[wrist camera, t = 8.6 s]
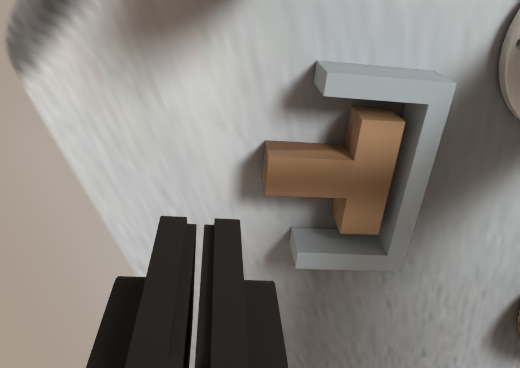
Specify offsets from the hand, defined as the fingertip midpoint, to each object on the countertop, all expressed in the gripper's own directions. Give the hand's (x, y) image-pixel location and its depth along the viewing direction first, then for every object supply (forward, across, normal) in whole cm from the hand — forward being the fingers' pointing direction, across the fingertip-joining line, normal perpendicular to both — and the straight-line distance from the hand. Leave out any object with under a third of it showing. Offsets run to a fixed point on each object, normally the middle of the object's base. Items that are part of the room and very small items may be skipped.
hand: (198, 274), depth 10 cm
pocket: (+23, -11, +7) cm, 27 cm away
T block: (+23, -8, +7) cm, 26 cm away
